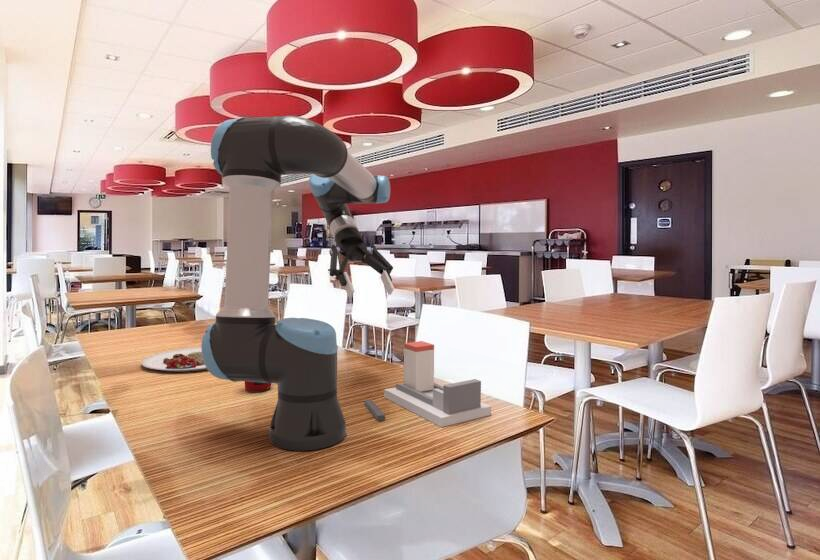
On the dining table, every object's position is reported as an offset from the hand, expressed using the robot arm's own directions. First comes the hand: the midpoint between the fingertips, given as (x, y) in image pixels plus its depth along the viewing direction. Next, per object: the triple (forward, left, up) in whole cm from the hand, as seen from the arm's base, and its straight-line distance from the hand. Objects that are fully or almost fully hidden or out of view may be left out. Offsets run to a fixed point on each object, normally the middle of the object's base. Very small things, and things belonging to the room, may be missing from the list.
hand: (372, 292), depth 134 cm
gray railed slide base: (-9, -21, -25) cm, 34 cm away
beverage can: (-14, +26, -26) cm, 39 cm away
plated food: (+2, +64, -26) cm, 69 cm away
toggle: (-5, -15, -23) cm, 28 cm away
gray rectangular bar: (-19, -10, -26) cm, 33 cm away
